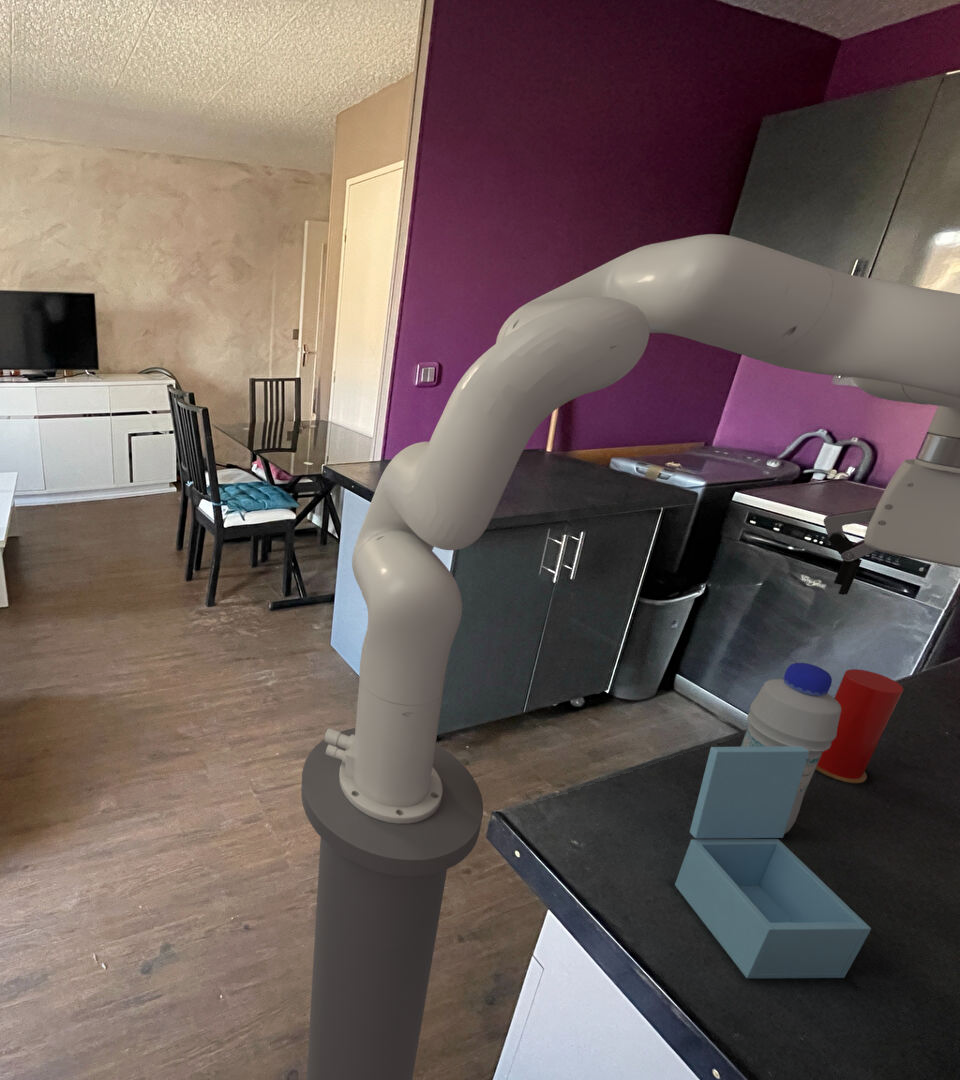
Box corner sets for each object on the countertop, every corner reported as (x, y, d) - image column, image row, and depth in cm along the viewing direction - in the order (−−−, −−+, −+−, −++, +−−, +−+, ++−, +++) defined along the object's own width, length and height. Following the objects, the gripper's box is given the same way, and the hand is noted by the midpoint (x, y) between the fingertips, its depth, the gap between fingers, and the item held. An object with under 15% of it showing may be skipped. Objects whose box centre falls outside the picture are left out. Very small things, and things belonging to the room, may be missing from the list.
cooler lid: (810, 751, 52) (801, 745, 53) (717, 751, 52) (710, 746, 53) (783, 838, 55) (775, 831, 56) (695, 838, 55) (688, 832, 56)
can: (799, 753, 74) (834, 670, 70) (831, 749, 75) (867, 667, 71) (840, 781, 70) (880, 694, 66) (873, 776, 71) (915, 690, 66)
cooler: (844, 978, 49) (871, 928, 47) (746, 978, 49) (769, 929, 47) (758, 884, 58) (778, 838, 56) (674, 885, 58) (690, 839, 56)
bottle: (728, 834, 63) (789, 679, 56) (704, 790, 69) (756, 645, 62) (804, 851, 61) (877, 692, 54) (773, 804, 67) (835, 655, 60)
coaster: (796, 761, 74) (797, 759, 74) (814, 745, 76) (815, 743, 76) (856, 789, 69) (857, 787, 69) (873, 772, 72) (874, 770, 72)
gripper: (1115, 466, 55) (1025, 625, 61) (858, 438, 67) (805, 573, 73) (1128, 478, 50) (1030, 649, 56) (850, 446, 62) (794, 589, 69)
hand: (903, 606), depth 65 cm, fingers open, 9 cm apart
